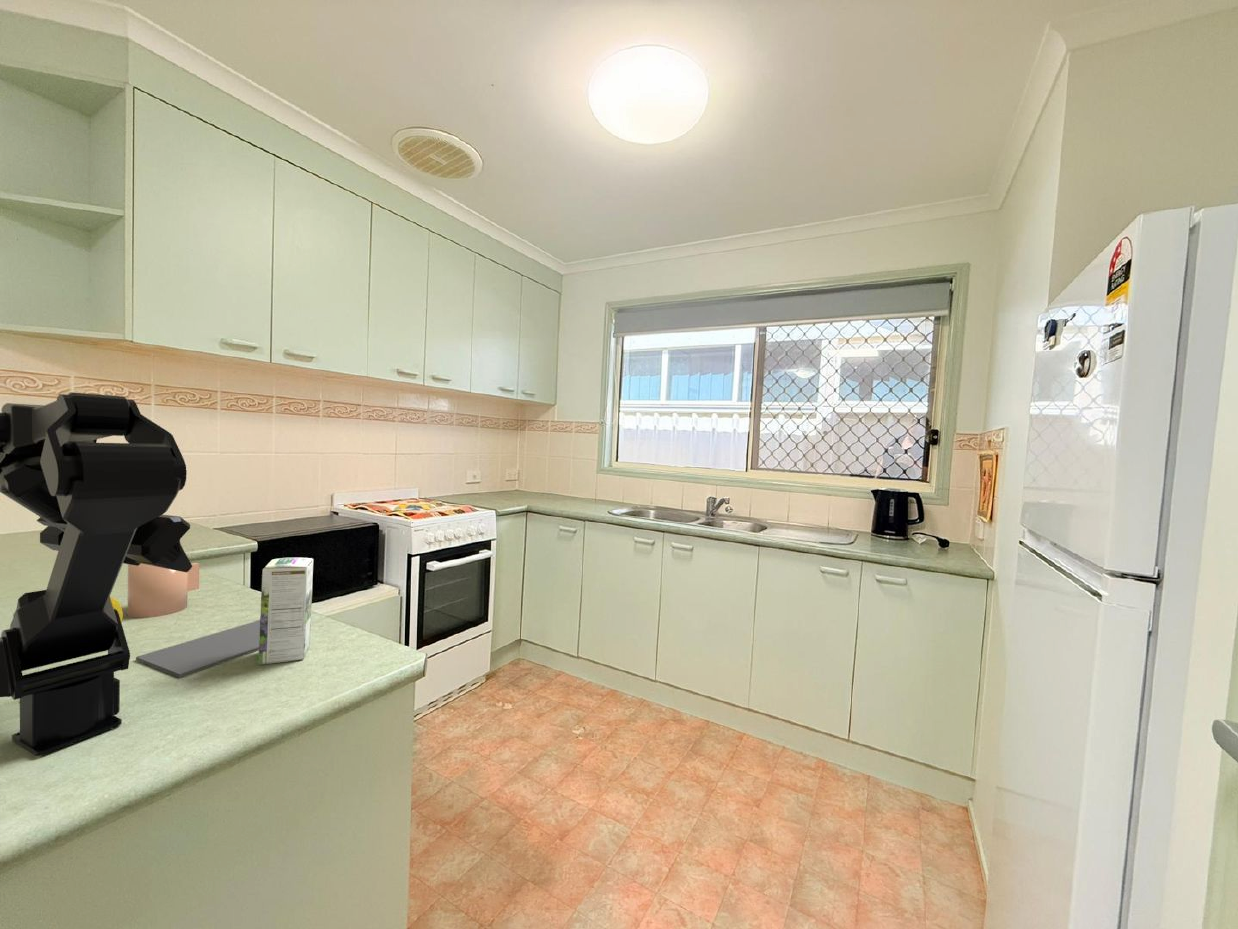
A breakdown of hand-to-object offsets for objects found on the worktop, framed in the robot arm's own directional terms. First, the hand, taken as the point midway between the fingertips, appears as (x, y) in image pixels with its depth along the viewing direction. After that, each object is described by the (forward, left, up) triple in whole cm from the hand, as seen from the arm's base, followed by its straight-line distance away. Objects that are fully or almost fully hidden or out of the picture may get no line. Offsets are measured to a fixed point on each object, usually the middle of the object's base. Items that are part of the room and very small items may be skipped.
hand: (164, 566), depth 71 cm
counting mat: (+7, -4, -14) cm, 16 cm away
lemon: (-2, +13, -14) cm, 19 cm away
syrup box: (+9, -14, -14) cm, 22 cm away
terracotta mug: (+10, +23, -14) cm, 28 cm away
